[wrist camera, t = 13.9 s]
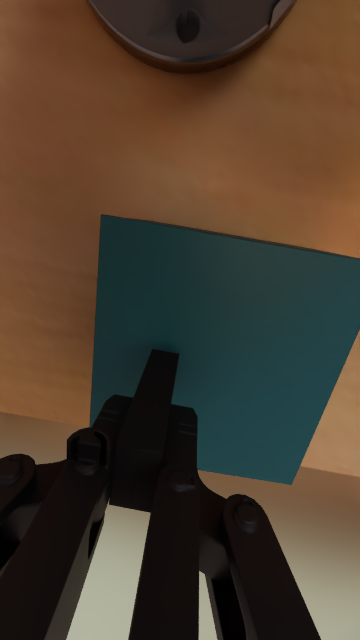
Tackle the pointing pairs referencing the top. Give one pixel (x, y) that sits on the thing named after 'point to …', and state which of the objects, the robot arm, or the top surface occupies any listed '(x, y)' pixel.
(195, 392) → the teal box lid
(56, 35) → the top surface
